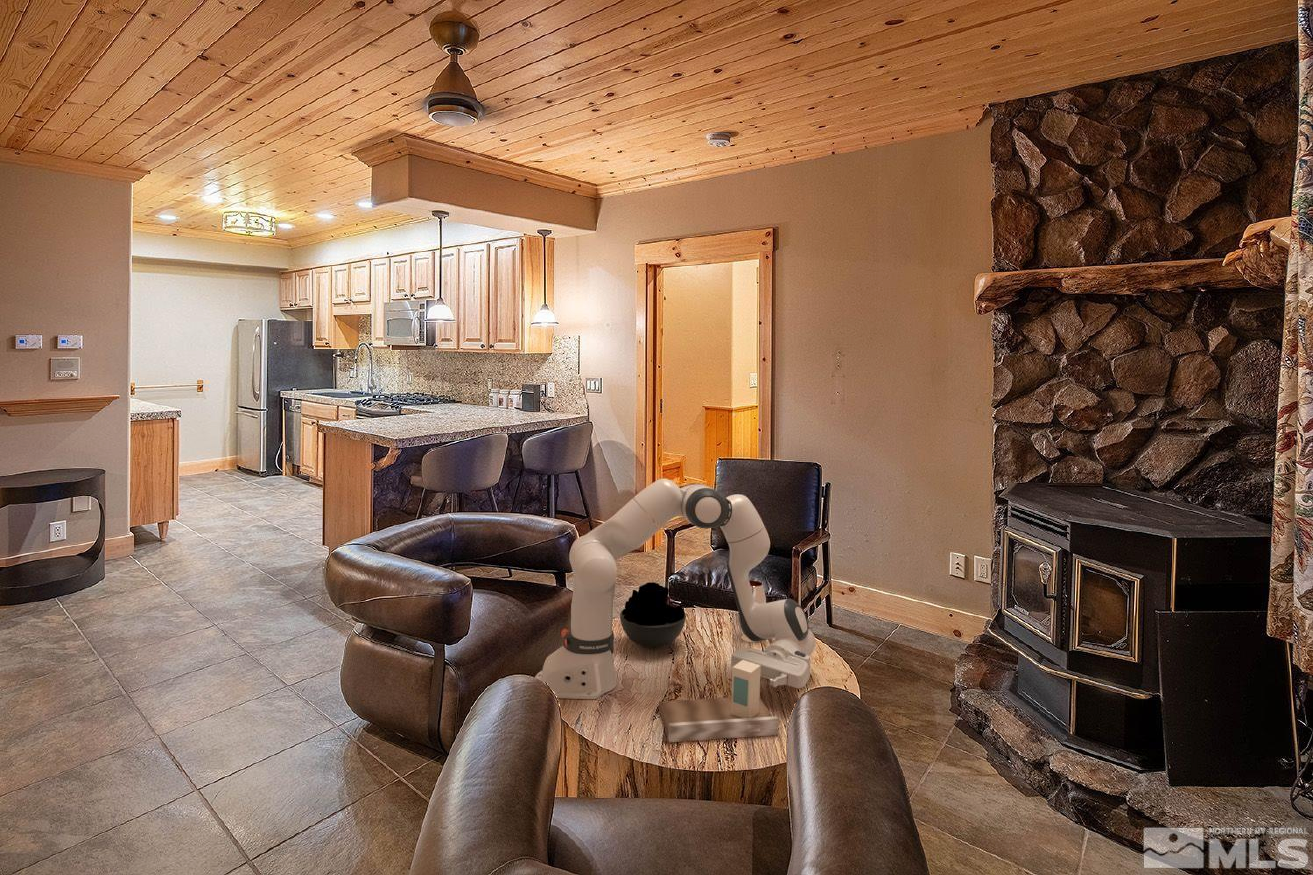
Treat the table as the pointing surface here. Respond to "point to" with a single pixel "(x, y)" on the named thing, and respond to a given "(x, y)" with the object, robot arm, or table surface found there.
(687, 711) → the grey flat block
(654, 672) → the table surface
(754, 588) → the wineglass
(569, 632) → the robot arm
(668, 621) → the coal bowl
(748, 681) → the carton
